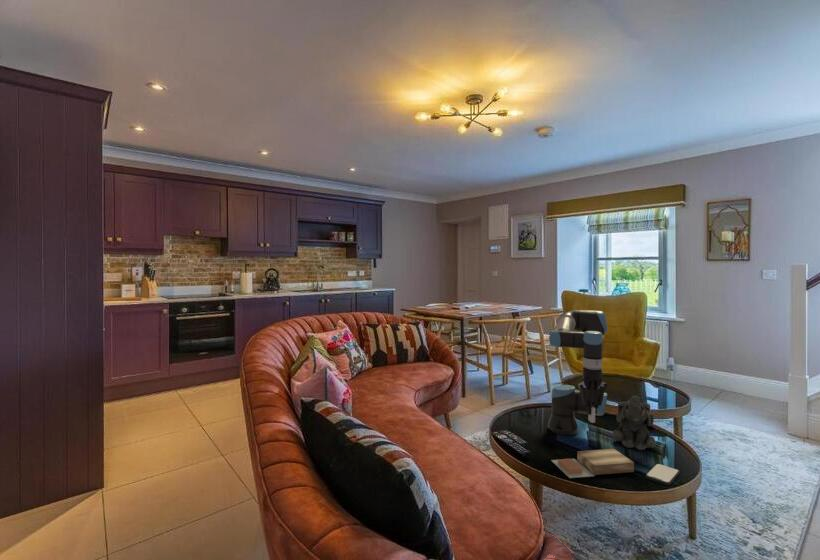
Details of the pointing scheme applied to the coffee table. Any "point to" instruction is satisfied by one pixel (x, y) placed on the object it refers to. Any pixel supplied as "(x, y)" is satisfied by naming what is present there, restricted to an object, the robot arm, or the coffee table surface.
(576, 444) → the coffee table surface
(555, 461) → the mat
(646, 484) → the coffee table surface
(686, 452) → the coffee table surface
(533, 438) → the coffee table surface
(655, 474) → the phone case
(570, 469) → the salmon orange slab
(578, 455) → the wooden block
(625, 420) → the stuffed elephant
